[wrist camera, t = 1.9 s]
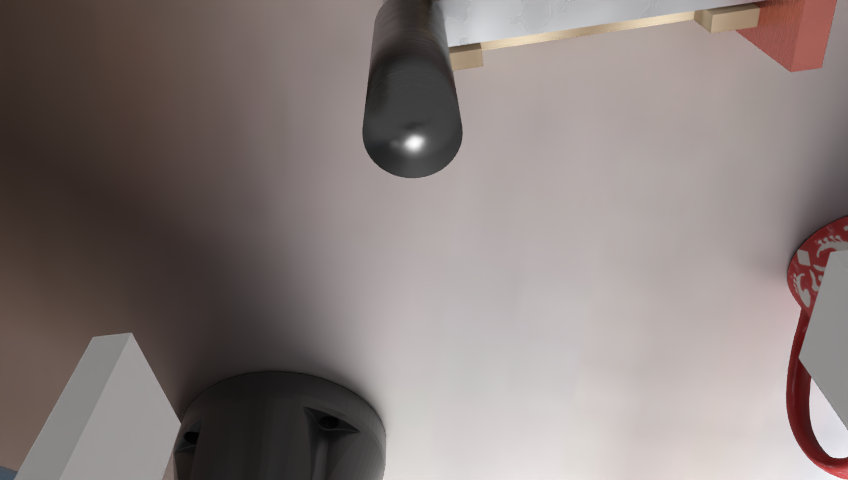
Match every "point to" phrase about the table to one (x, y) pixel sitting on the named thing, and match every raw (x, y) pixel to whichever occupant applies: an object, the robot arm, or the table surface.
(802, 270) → the mug
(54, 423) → the robot arm
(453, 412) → the table surface
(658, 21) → the strip
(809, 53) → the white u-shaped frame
